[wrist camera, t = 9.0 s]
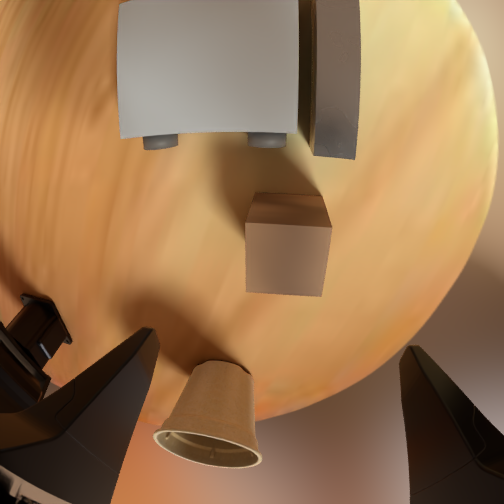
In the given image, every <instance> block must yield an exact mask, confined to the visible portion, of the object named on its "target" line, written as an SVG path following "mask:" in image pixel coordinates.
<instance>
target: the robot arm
mask: <svg viewBox="0 0 504 504" xmlns="http://www.w3.org/2000/svg"><path fill="white" fill-rule="evenodd" d="M20 298H21V300H22V302H23V304H24V307H23V308H22V310H21V311H20V312H19V313H18V314H17V315H16V316H15V318H14V319H13V320H12V321H11V322H10V323H9V325H8V326H7V327H6V328H5V327H4V326H3V323H2V322H1V321H0V504H110V503H111V499H112V496H113V493H114V489H115V486H116V483H117V480H118V477H119V473H120V470H121V467H122V463H123V461H124V458H125V455H126V451H127V448H128V446H129V443H130V440H131V437H132V434H133V431H134V428H135V425H136V422H137V420H138V417H139V414H140V412H141V409H142V406H143V403H144V401H145V398H146V395H147V393H148V390H149V387H150V384H151V380H152V377H153V373H154V369H155V365H156V361H157V357H158V353H159V349H160V343H159V340H158V337H157V333H156V330H155V329H154V328H150V327H143V328H141V329H140V330H138V331H137V332H136V333H134V334H133V335H132V336H130V337H129V338H128V339H126V340H125V341H124V342H122V343H121V344H119V345H118V346H117V347H115V348H114V349H113V350H111V351H110V352H109V353H107V354H106V355H105V356H103V357H102V358H101V359H99V360H98V361H97V362H95V363H94V364H93V365H91V366H90V367H89V368H87V369H86V370H85V371H83V372H82V373H81V374H79V375H78V376H77V377H75V379H72V380H71V381H70V382H68V383H67V384H66V385H64V386H63V387H61V388H60V389H59V390H57V391H56V392H54V393H53V394H51V395H49V396H48V397H46V398H44V395H45V393H46V390H47V387H48V385H49V383H50V380H51V377H50V376H48V375H47V374H46V373H45V372H44V371H43V370H42V369H43V367H44V366H45V364H46V363H47V361H48V360H49V359H52V357H53V356H54V354H55V353H56V351H57V350H58V348H59V347H60V345H61V344H62V343H66V344H71V343H72V339H71V337H70V336H69V334H68V332H67V330H66V328H65V326H64V324H63V322H62V320H61V318H60V316H59V314H58V312H57V310H56V307H55V305H54V304H53V302H51V301H48V300H45V299H41V298H37V297H33V296H30V295H26V294H21V295H20ZM399 369H400V383H401V384H400V385H401V401H402V409H403V416H404V424H405V432H406V441H407V452H408V463H409V481H410V504H504V435H503V434H502V433H501V432H500V431H499V430H498V429H497V428H496V427H495V426H494V425H492V423H491V422H490V421H489V420H488V419H487V418H486V417H485V416H484V415H483V414H482V413H481V412H480V411H479V410H478V408H477V407H476V406H474V404H473V403H472V402H471V400H470V399H469V398H468V397H467V396H466V395H465V394H464V393H463V392H462V390H461V389H459V387H458V386H457V385H456V384H455V383H454V382H453V381H452V380H451V378H450V377H449V376H448V375H447V374H446V373H445V372H444V371H443V370H442V369H441V368H440V367H439V366H438V365H437V364H436V362H435V361H434V360H433V359H432V358H431V357H430V356H429V355H428V354H427V353H426V352H425V351H424V350H423V349H422V348H421V347H420V346H419V345H409V346H407V348H406V349H405V351H404V353H403V355H402V357H401V359H400V363H399ZM43 398H44V399H43Z"/></svg>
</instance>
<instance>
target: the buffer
mask: <svg viewBox="0 0 504 504" xmlns="http://www.w3.org/2000/svg"><path fill="white" fill-rule="evenodd" d="M311 12H312V83H311V117H310V139H309V147H310V149H311V151H312V153H313V156H323V157H334V158H344V159H353V160H355V156H356V145H357V133H358V119H359V102H360V73H361V34H360V8H359V0H311Z"/></svg>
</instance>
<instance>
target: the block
mask: <svg viewBox="0 0 504 504" xmlns="http://www.w3.org/2000/svg"><path fill="white" fill-rule="evenodd" d="M331 233H332V225H331V222H330V219H329V216H328V212H327V209H326V206H325V203H324V200H323V197H322V196H312V195H297V194H280V193H258V192H256V193H255V196H254V198H253V201H252V204H251V207H250V210H249V213H248V216H247V219H246V222H245V250H246V292H253V293H267V294H282V295H299V296H318V297H321V296H322V290H323V285H324V279H325V273H326V267H327V261H328V254H329V247H330V240H331Z"/></svg>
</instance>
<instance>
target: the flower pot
mask: <svg viewBox="0 0 504 504" xmlns="http://www.w3.org/2000/svg"><path fill="white" fill-rule="evenodd" d="M153 438H154V440H155V441H156V442H157V444H158V445H159V446H161V447H162V448H163V449H165V450H167V451H169V452H170V453H172V454H174V455H176V456H179V457H181V458H183V459H186V460H189V461H192V462H196V463H199V464H203V465H207V466H214V467H221V468H247V467H252V466H255V465H258V464H259V463H260V462H261V461H262V455H261V453H260V452H259V451H258V442H257V440H256V438H255V416H254V380H253V378H252V376H251V375H250V374H248V373H246V372H245V371H244V370H243V369H242V368H241V367H240V366H238V365H235V364H233V363H229V362H224V361H206V362H205V363H203V364H201V365H197V366H196V367H195V368H194V369H193V372H192V374H191V376H190V378H189V380H188V382H187V384H186V386H185V388H184V390H183V392H182V394H181V396H180V397H179V399H178V401H177V403H176V405H175V407H174V409H173V411H172V413H171V415H170V417H169V418H168V419H166V420H165V421H164V423H163V425H162V427H161V429H158V430H156V431H155V432H154V435H153Z"/></svg>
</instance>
